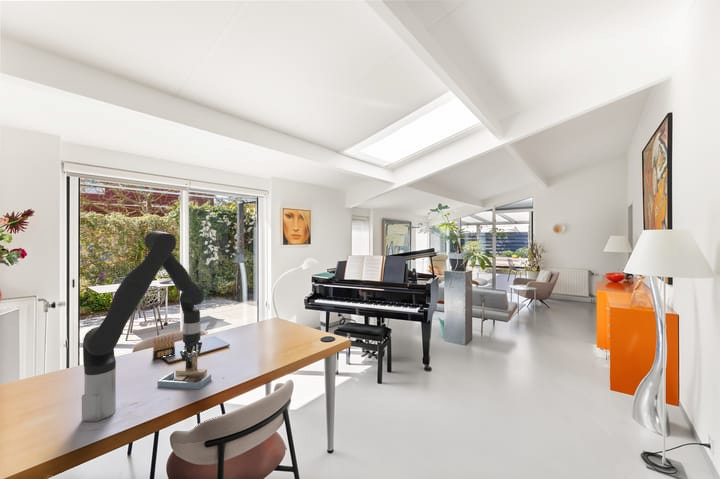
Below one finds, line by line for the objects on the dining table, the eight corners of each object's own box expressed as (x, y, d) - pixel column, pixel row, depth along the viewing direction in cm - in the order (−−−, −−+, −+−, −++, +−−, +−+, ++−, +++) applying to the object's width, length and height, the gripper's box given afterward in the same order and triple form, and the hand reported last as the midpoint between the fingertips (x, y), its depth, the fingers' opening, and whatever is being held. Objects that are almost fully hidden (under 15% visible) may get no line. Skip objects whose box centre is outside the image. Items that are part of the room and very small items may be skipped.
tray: (198, 389, 140) (199, 383, 140) (157, 386, 142) (157, 380, 142) (211, 379, 149) (211, 374, 149) (172, 376, 151) (172, 371, 151)
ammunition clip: (153, 360, 170) (153, 338, 170) (152, 359, 171) (152, 337, 171) (175, 355, 178) (175, 334, 178) (174, 354, 179) (174, 333, 179)
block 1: (182, 385, 144) (182, 379, 144) (173, 384, 144) (174, 379, 144) (189, 380, 149) (189, 375, 149) (181, 379, 149) (181, 374, 149)
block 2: (192, 386, 143) (192, 380, 143) (184, 385, 144) (184, 380, 144) (199, 381, 148) (199, 375, 148) (191, 380, 149) (191, 375, 149)
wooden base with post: (203, 378, 148) (203, 357, 148) (175, 376, 149) (175, 355, 149) (207, 375, 151) (207, 355, 151) (179, 373, 152) (180, 353, 152)
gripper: (189, 336, 142) (189, 373, 143) (207, 327, 156) (207, 361, 157) (174, 335, 143) (174, 372, 144) (193, 326, 157) (193, 360, 157)
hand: (191, 366), depth 150 cm, fingers closed on wooden base with post, 3 cm apart
